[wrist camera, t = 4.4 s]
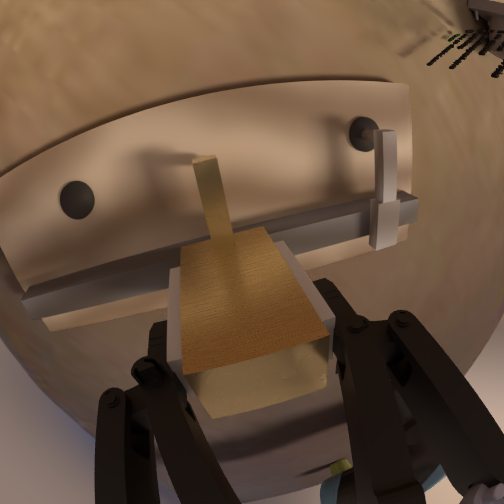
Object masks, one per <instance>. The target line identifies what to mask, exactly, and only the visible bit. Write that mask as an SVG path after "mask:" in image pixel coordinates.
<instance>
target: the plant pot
mask: <svg viewBox="0 0 504 504" xmlns="http://www.w3.org/2000/svg"><path fill="white" fill-rule="evenodd" d="M350 468H352V467H351V465H350V464H349V462H348V461H347V459H341V460H339V461H337V462H335V463H333V464H331V465H330V470H331V474H332V476H334V475H336V474H338V473H340V472H341V471H343V470H344V471H345V470H347V469H350Z"/></svg>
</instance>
